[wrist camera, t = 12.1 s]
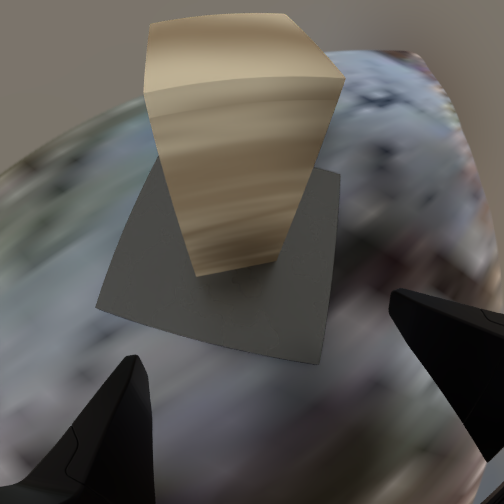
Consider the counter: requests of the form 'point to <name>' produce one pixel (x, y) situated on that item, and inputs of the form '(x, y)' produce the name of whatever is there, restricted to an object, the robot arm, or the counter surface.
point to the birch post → (237, 129)
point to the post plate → (228, 278)
